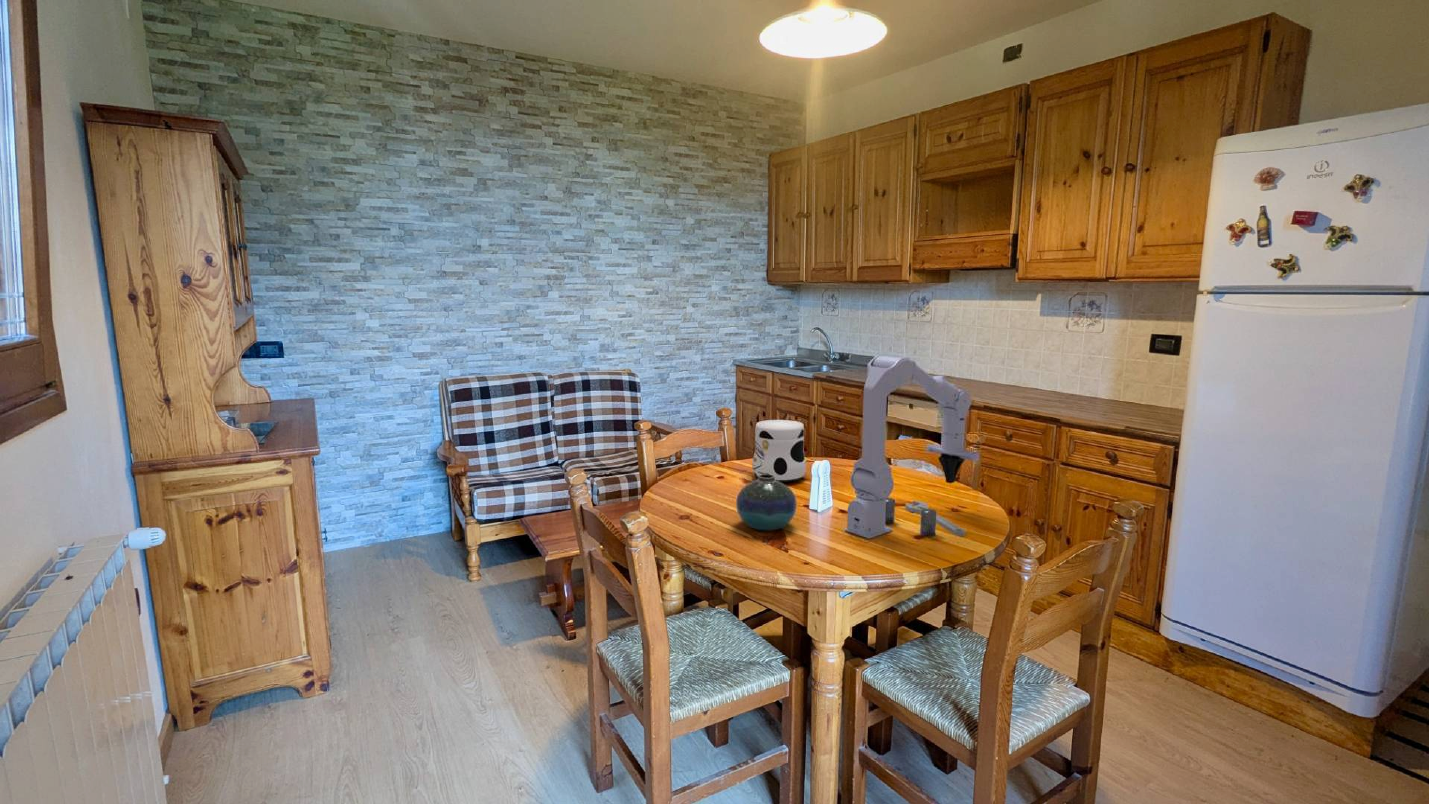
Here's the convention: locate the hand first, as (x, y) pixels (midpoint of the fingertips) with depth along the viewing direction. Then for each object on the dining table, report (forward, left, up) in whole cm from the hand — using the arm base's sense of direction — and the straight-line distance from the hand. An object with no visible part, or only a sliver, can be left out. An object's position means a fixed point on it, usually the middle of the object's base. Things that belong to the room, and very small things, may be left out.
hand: (950, 482), depth 181 cm
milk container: (-11, +54, -9) cm, 56 cm away
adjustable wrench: (-9, 0, -9) cm, 13 cm away
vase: (-46, +24, -9) cm, 53 cm away
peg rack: (-20, 0, -8) cm, 21 cm away
